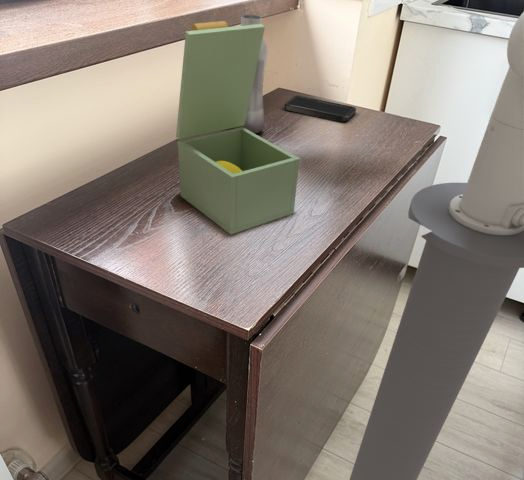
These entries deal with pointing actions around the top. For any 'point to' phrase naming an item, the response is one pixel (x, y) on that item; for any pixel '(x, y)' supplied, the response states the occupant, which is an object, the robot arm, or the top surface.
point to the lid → (217, 77)
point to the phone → (320, 108)
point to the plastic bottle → (256, 84)
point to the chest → (238, 178)
